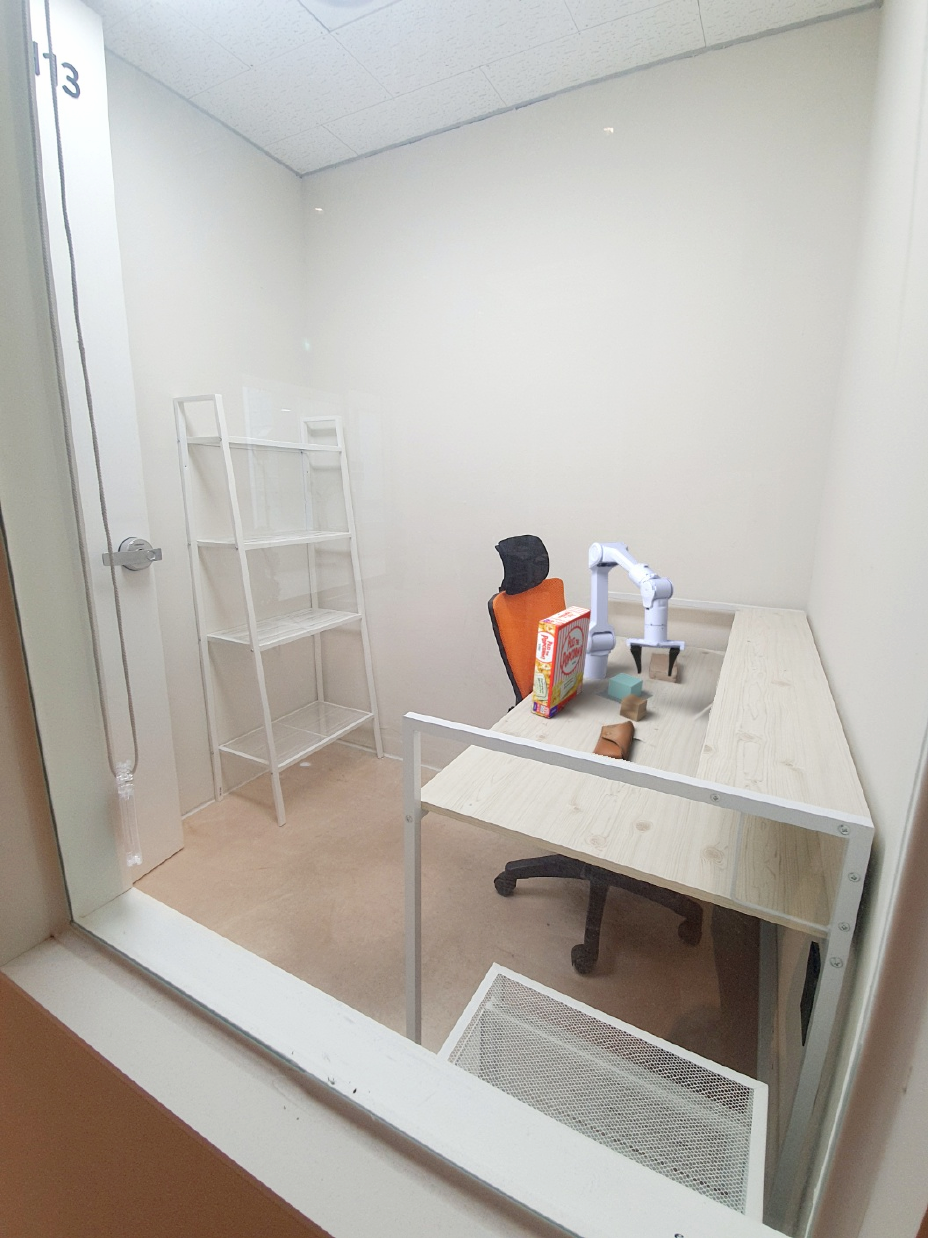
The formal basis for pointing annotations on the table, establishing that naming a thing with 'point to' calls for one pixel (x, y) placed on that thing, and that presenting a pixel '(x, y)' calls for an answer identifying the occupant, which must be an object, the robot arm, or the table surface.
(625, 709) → the walnut block
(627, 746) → the sunglasses case
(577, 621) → the cardboard food box
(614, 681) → the base brick
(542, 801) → the table surface
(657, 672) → the brick
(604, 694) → the baseplate
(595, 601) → the robot arm
